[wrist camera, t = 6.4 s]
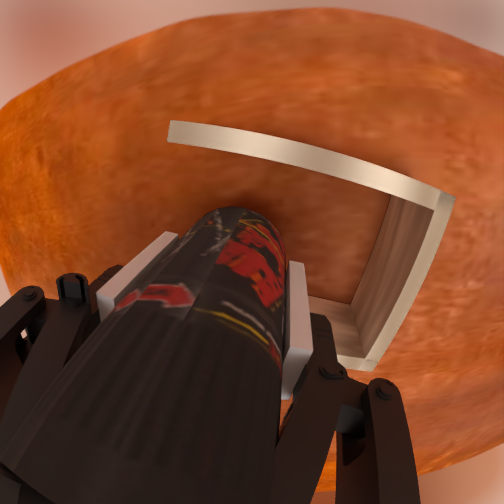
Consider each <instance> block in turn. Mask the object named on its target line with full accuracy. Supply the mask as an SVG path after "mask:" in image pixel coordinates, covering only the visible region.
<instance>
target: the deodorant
mask: <svg viewBox="0 0 504 504" xmlns="http://www.w3.org/2000/svg"><path fill="white" fill-rule="evenodd" d="M285 275H286V255H285V247H284V243H283V240H282V238H281V236H280V233H279V231H278V230H277V229H276V228H275V226H274V225H273V224H272V223H271V221H269V220H268V219H267V218H265V217H264V216H262V215H261V214H260V213H258V212H255V211H252V210H250V209H247V208H242V207H234V206H231V207H224V208H218V209H216V210H214V211H211V212H209V213H207V214H206V215H205V216H203V217H202V218H201V219H200V220H199V221H197V222H196V223H195V224H194V225H193V226H192V227H191V228H190V229H189V230H188V231H187V232H186V233H185V234H184V235H183V236H182V237H181V238H180V239H179V240H178V241H177V242H176V243H175V244H174V245H173V246H172V247H171V248H170V249H169V250H168V251H167V252H166V253H165V254H164V255H163V256H162V257H161V258H160V259H159V260H158V261H157V262H156V263H155V264H154V265H153V267H152V268H151V269H150V270H149V271H148V272H147V273H146V274H145V275H144V276H143V277H142V278H141V279H140V280H139V281H138V282H137V283H136V284H135V286H134V287H133V288H132V289H131V290H130V291H129V292H128V293H127V294H126V295H125V296H124V297H123V299H122V300H121V301H120V302H119V303H118V304H117V305H116V306H115V307H114V308H113V310H112V311H111V312H110V313H109V314H108V315H107V316H106V317H105V319H104V320H103V321H102V322H101V323H100V324H99V325H98V327H97V328H96V329H95V330H94V331H93V332H92V334H91V335H90V336H89V337H88V338H87V339H86V341H85V342H84V343H83V344H82V345H81V347H80V348H79V349H78V350H77V351H76V353H75V354H74V355H73V356H72V358H71V359H70V360H69V361H68V362H67V364H66V365H65V366H64V367H63V369H62V370H61V371H60V372H59V374H58V375H57V376H56V378H55V379H54V380H53V381H52V383H51V384H50V385H49V387H48V388H47V389H46V390H45V392H44V393H43V394H42V396H41V397H40V398H39V400H38V401H37V403H36V404H35V405H34V407H33V408H32V409H31V411H30V412H29V414H28V415H27V416H26V418H25V419H24V421H23V422H22V423H21V425H20V426H19V428H18V429H17V431H16V432H15V434H14V435H13V437H12V438H11V440H10V441H9V443H8V444H7V446H6V447H5V449H4V450H3V452H2V454H1V455H0V461H1V462H2V463H3V464H4V465H5V466H7V467H8V468H9V469H10V470H11V471H12V472H13V473H15V474H16V475H17V476H18V477H19V478H21V479H22V480H23V481H24V482H26V483H27V484H28V485H30V486H31V487H32V488H34V489H35V490H36V491H38V492H39V493H40V494H42V495H43V496H45V497H46V498H48V499H49V500H51V501H52V502H54V503H55V504H269V503H270V494H271V484H272V474H273V464H274V452H275V448H276V445H277V442H278V439H279V425H280V409H281V392H282V372H283V349H284V320H285Z"/></svg>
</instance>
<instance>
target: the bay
mask: <svg viewBox="0 0 504 504" xmlns="http://www.w3.org/2000/svg"><path fill="white" fill-rule="evenodd" d="M167 142H172V143H180V144H187V145H193V146H200V147H206V148H212V149H218V150H223V151H229V152H234V153H239V154H244V155H249V156H254V157H259V158H263V159H268V160H273V161H277V162H281V163H285V164H290V165H294V166H298V167H302V168H306V169H309V170H313V171H317V172H321V173H324V174H328V175H332V176H335V177H338V178H342V179H345V180H349V181H352V182H355V183H358V184H362V185H365V186H368V187H371V188H374V189H377V190H380V191H383V192H386V193H389V194H392V195H391V198H390V202H389V205H388V208H387V211H386V214H385V217H384V220H383V223H382V226H381V229H380V232H379V234H378V237H377V240H376V243H375V246H374V248H373V251H372V254H371V256H370V259H369V261H368V264H367V266H366V269H365V271H364V274H363V276H362V279H361V281H360V284H359V286H358V288H357V291H356V293H355V295H354V298H353V300H352V302H351V305H349V304H345V303H340V302H335V301H331V300H326V299H322V298H317V297H313V296H308V302H309V312H311V313H316V314H321V315H325V316H326V317H327V319H328V320H329V321H330V323H331V326H332V333H333V337H334V338H333V339H334V342H335V348H336V353H337V359H338V362H339V363H340V364H341V365H343V366H344V367H345V368H347V369H354V370H362V371H370V372H372V371H373V369H374V368H375V366H376V365H377V363H378V362H379V360H380V359H381V357H382V356H383V354H384V352H385V351H386V349H387V348H388V346H389V344H390V343H391V341H392V339H393V338H394V336H395V334H396V332H397V331H398V329H399V327H400V325H401V324H402V322H403V320H404V318H405V316H406V315H407V313H408V311H409V309H410V307H411V305H412V303H413V301H414V299H415V297H416V295H417V293H418V291H419V289H420V287H421V285H422V283H423V281H424V279H425V277H426V274H427V272H428V270H429V268H430V265H431V263H432V261H433V258H434V256H435V254H436V251H437V249H438V246H439V244H440V241H441V239H442V236H443V233H444V231H445V228H446V225H447V222H448V220H449V217H450V214H451V211H452V208H453V205H454V202H455V198H456V197H454V196H452V195H450V194H448V193H446V192H443V191H441V190H439V189H437V188H435V187H432V186H430V185H428V184H425V183H423V182H421V181H418V180H416V179H413V178H411V177H408V176H406V175H403V174H401V173H398V172H395V171H393V170H390V169H387V168H384V167H381V166H379V165H376V164H373V163H370V162H367V161H364V160H361V159H358V158H354V157H351V156H348V155H345V154H341V153H338V152H335V151H331V150H328V149H324V148H320V147H317V146H313V145H309V144H305V143H301V142H297V141H293V140H289V139H285V138H280V137H276V136H271V135H267V134H262V133H257V132H252V131H246V130H241V129H235V128H229V127H223V126H217V125H210V124H203V123H194V122H185V121H175V120H171V121H170V126H169V132H168V139H167Z"/></svg>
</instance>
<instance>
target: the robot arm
mask: <svg viewBox="0 0 504 504" xmlns="http://www.w3.org/2000/svg"><path fill="white" fill-rule="evenodd" d="M178 237H179V234H176V233H172V232H168V231H165V232H164V233H163V234H162V235H161V236H159V237H158V238H157V239H156V240H155V241H153V242H152V243H151V244H150V245H149V246H147V247H146V248H145V249H144V250H143V251H142V252H140V253H139V254H138V255H137V256H136V257H135V258H134V259H132V260H131V261H130V262H129V263H128V264H127V265H126V266H121V265H116V266H113V267H111V268H108V269H107V270H106V271H105V272H104V273H103V274H102V275H100V276H99V277H98V278H97V279H96V280H94V281H93V282H92V283H91V284H90V285H89V286H88V280H87V278H86V277H85V276H84V275H82V274H79V273H68V274H64V275H62V276H60V277H59V278H57V279H56V283H57V289H58V295H59V300H54V299H48V298H45V296H44V292H43V290H42V288H40V287H38V286H27V287H24V288H22V289H21V290H19V291H18V292H17V293H16V294H14V295H13V296H12V297H11V298H10V299H9V300H8V301H6V302H5V303H4V304H3V305H2V306H1V307H0V455H1V454H2V452H3V450H4V449H5V447H6V446H7V444H8V443H9V441H10V440H11V438H12V437H13V435H14V434H15V432H16V431H17V429H18V428H19V426H20V425H21V423H22V422H23V421H24V419H25V418H26V416H27V415H28V414H29V412H30V411H31V409H32V408H33V407H34V405H35V404H36V403H37V401H38V400H39V398H40V397H41V396H42V394H43V393H44V392H45V390H46V389H47V388H48V387H49V385H50V384H51V383H52V381H53V380H54V379H55V378H56V376H57V375H58V374H59V372H60V371H61V370H62V369H63V367H64V366H65V365H66V364H67V362H68V361H69V360H70V359H71V358H72V356H73V355H74V354H75V353H76V351H77V350H78V349H79V348H80V347H81V345H82V344H83V343H84V342H85V341H86V339H87V338H88V337H89V336H90V335H91V334H92V332H93V331H94V330H95V329H96V328H97V327H98V325H99V324H100V323H101V322H102V321H103V320H104V319H105V317H106V316H107V315H108V314H109V313H110V312H111V311H112V310H113V308H114V307H115V306H116V305H117V304H118V303H119V302H120V301H121V300H122V299H123V297H124V296H125V295H126V294H127V293H128V292H129V291H130V290H131V289H132V288H133V287H134V286H135V284H136V283H137V282H138V281H139V280H140V279H141V278H142V277H143V276H144V275H145V274H146V273H147V272H148V271H149V270H150V269H151V268H152V267H153V265H154V264H155V263H156V262H157V261H158V260H159V259H160V258H161V257H162V256H163V255H164V254H165V253H166V252H167V251H168V250H169V249H170V248H171V247H172V246H173V245H174V244H175V243H176V242H177V241H178ZM24 329H25V331H26V333H27V336H26V337H25V338H22V336H21V332H22V331H23V330H24ZM333 338H334V337H333V333H332V326H331V323H330V321H329V320H328V319H327V317H326V316H325V315H321V314H316V313H311V312H309V302H308V294H307V285H306V277H305V268H304V263H300V262H296V261H291V260H290V261H289V264H288V268H287V271H286V275H285V320H284V349H283V372H282V392H281V399H284V400H289V399H290V397H291V395H292V393H293V402H292V404H291V405H290V407H289V409H288V411H287V413H286V414H285V416H284V418H283V419H284V420H283V422H282V424H281V426H280V428H279V439H278V442H277V445H276V448H275V452H274V464H273V474H272V484H271V494H270V503H269V504H310V502H311V500H312V497H313V495H314V492H315V489H316V487H317V484H318V481H319V478H320V476H321V473H322V470H323V467H324V464H325V461H326V458H327V455H328V451H329V448H330V445H331V442H332V438H333V435H334V431H336V442H337V461H336V498H335V500H336V501H335V504H421V503H420V495H419V486H418V479H417V472H416V465H415V459H414V454H413V448H412V443H411V438H410V433H409V428H408V424H407V419H406V415H405V411H404V406H403V402H402V398H401V394H400V392H399V390H398V388H397V387H396V386H395V384H394V383H392V382H390V381H389V380H387V379H383V378H375V379H373V380H371V381H370V383H369V384H368V385H367V384H364V383H361V382H358V381H356V380H354V379H351V378H350V377H348V375H347V371H346V369H345V367H344V366H343V365H341V364H340V363H339V362H338V359H337V353H336V348H335V342H334V339H333ZM0 504H55V503H54V502H52V501H51V500H49V499H48V498H46V497H45V496H43V495H42V494H40V493H39V492H38V491H36V490H35V489H34V488H32V487H31V486H30V485H28V484H27V483H26V482H24V481H23V480H22V479H21V478H19V477H18V476H17V475H16V474H15V473H13V472H12V471H11V470H10V469H9V468H8V467H7V466H5V465H4V464H3V463H2V462H1V461H0Z"/></svg>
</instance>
